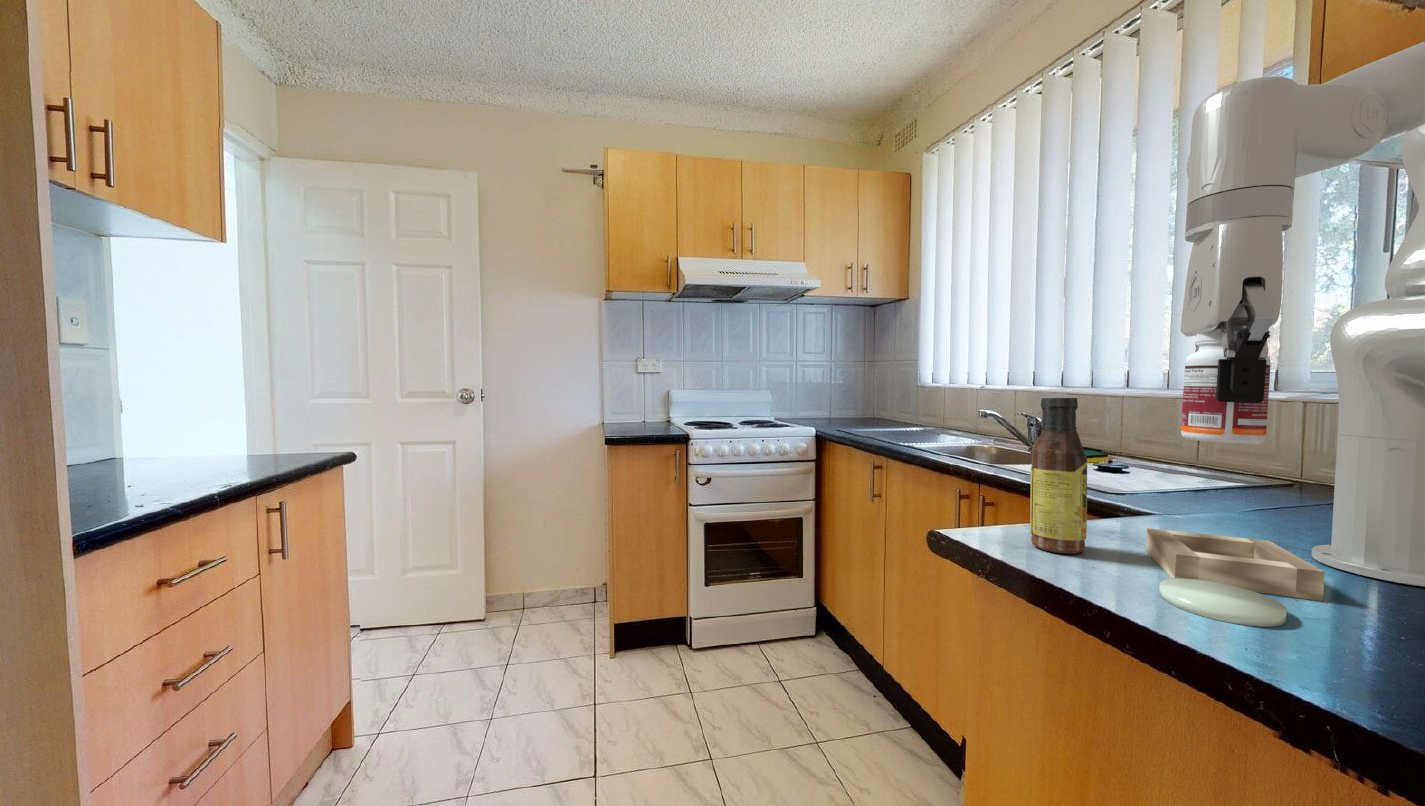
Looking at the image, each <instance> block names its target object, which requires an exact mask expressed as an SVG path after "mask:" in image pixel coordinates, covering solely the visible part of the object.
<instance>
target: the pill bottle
mask: <svg viewBox="0 0 1425 806" xmlns="http://www.w3.org/2000/svg"><path fill="white" fill-rule="evenodd" d="M1195 337H1196V338H1195V344H1196V343H1197V344H1196V345H1198V346H1199V350H1198V351H1197V352H1195V351H1194V352H1193V353H1191V354H1190V355H1188V356H1187V358H1186V359H1185V363H1184V376H1183V378H1184V379H1183V390H1182V391H1183V393H1182V409H1181V412H1182V413H1181V424H1180V426H1181V427H1180V434H1181V436H1182V437H1183V438H1184V439H1187V440H1192V441H1201V442H1211V443H1224V444H1241V445H1242V444H1245V445H1259V444H1263V443H1264V442H1265V441H1266V438H1267V429H1268V427H1267V426H1268V411H1269V397H1270V396H1269V394H1270V393H1269V392H1270V380H1271V357H1270V356H1269V355H1268V356H1267V358H1266V359H1267V361H1266V376H1265V390H1264V400H1263V401H1262V402H1260V403H1246V402H1220V401H1218V400H1217V399H1216V388H1217V373H1218V360H1219V359H1224V356H1223V346H1222V336H1221V329H1214V330H1212V331H1209V332H1205V333H1199V334H1196V335H1195ZM1236 338H1237V336H1234V340H1235V341H1236Z"/></svg>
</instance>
